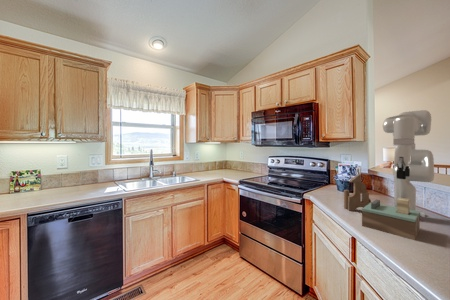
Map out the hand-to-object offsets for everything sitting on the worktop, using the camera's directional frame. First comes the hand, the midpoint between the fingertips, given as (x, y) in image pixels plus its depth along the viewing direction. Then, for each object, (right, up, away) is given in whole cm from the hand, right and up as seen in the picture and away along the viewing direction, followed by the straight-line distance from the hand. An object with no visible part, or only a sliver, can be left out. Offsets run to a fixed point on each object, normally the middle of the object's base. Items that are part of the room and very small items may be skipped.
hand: (403, 177), depth 94 cm
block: (+1, -27, +1) cm, 27 cm away
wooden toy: (+2, -27, +35) cm, 44 cm away
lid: (-2, -19, +5) cm, 19 cm away
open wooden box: (-2, -28, +5) cm, 28 cm away
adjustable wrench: (+36, -27, +34) cm, 56 cm away
